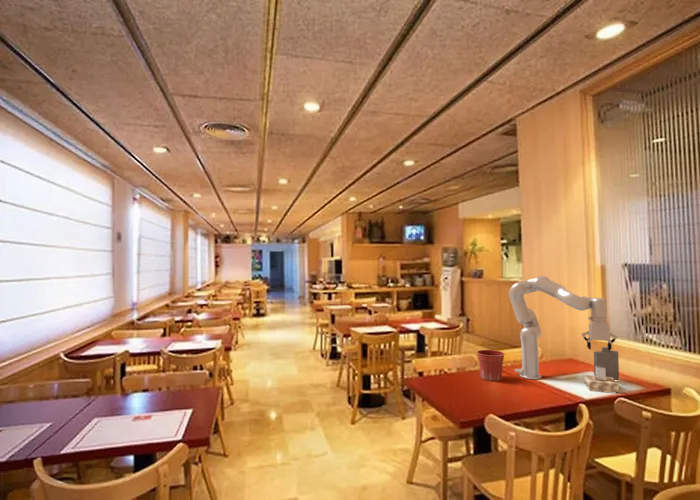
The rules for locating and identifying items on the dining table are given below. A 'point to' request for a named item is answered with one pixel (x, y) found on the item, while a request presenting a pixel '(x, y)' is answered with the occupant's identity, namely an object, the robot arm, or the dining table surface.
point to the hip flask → (607, 362)
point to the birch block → (601, 384)
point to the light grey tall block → (600, 373)
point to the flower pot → (491, 364)
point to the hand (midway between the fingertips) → (599, 349)
